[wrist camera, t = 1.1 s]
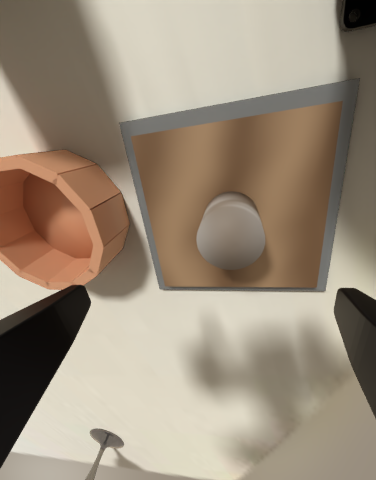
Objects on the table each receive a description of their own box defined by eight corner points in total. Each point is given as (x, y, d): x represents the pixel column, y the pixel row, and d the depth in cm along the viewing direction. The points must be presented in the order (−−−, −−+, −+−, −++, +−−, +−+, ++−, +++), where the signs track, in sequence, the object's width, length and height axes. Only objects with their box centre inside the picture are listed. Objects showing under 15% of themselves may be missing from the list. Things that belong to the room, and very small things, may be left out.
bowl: (107, 142, 17) (69, 146, 13) (140, 260, 21) (118, 290, 18) (0, 160, 19) (-60, 167, 15) (49, 262, 24) (13, 289, 20)
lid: (336, 102, 13) (387, 88, 9) (313, 281, 18) (337, 326, 14) (135, 135, 16) (99, 138, 12) (167, 281, 21) (150, 318, 17)
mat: (355, 80, 13) (359, 78, 12) (323, 287, 19) (325, 291, 19) (122, 123, 16) (119, 122, 16) (161, 286, 22) (159, 289, 22)
